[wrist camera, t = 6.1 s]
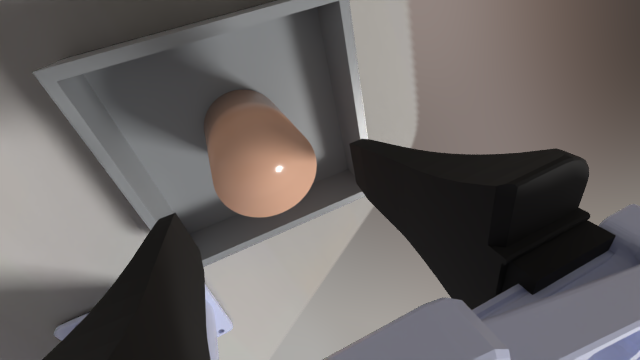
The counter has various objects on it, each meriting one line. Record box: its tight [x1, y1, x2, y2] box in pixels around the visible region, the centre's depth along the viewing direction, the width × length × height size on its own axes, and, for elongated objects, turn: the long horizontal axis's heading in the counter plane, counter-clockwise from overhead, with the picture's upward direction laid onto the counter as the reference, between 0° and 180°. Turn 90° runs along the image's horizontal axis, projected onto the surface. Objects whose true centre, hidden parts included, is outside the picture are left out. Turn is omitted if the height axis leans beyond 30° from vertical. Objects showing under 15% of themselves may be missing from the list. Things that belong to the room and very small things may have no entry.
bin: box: [32, 0, 368, 267], centre depth 17 cm, size 13×12×4 cm
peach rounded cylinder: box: [204, 90, 317, 218], centre depth 15 cm, size 5×5×6 cm
